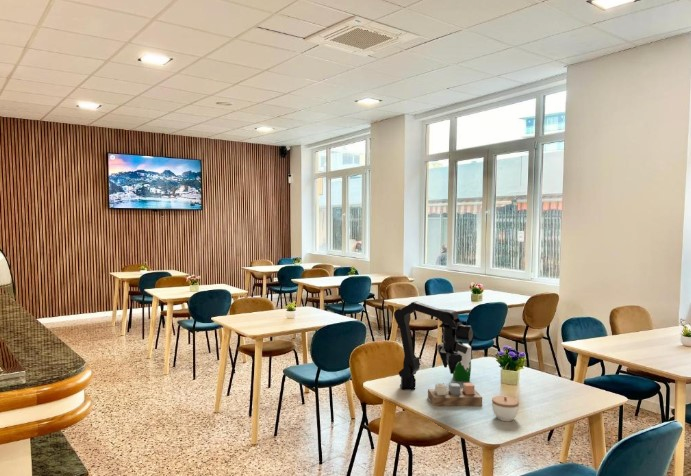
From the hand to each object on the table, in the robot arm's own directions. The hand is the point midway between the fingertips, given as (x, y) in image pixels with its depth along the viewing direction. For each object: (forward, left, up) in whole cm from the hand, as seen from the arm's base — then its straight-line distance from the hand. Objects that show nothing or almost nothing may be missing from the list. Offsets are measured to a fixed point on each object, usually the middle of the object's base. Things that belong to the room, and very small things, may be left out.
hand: (448, 370), depth 227 cm
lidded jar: (+17, -25, -13) cm, 33 cm away
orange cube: (+8, -6, -9) cm, 13 cm away
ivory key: (-5, -6, -9) cm, 12 cm away
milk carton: (+14, +25, -13) cm, 32 cm away
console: (+1, -6, -13) cm, 14 cm away
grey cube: (+1, -6, -9) cm, 11 cm away
